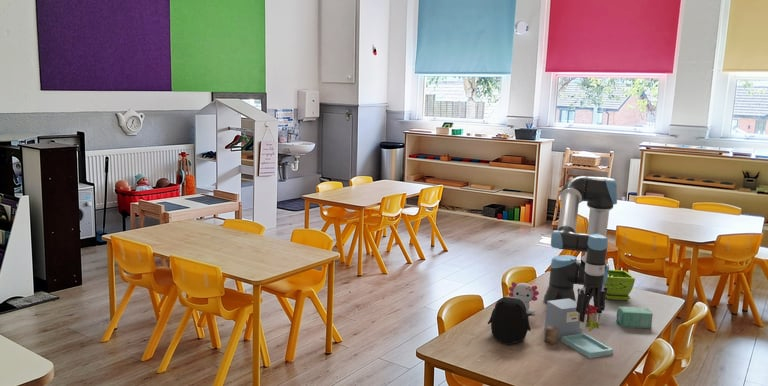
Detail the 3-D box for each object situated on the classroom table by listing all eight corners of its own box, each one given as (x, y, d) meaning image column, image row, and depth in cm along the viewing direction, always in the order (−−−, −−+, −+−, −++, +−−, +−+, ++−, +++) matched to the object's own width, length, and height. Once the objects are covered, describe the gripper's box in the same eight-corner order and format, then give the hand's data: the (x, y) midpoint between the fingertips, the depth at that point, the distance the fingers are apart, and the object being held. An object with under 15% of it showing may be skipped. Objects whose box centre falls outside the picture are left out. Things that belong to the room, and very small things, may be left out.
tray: (561, 340, 260) (561, 336, 260) (583, 337, 265) (584, 333, 264) (589, 358, 245) (589, 353, 244) (612, 354, 250) (613, 349, 249)
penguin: (531, 333, 266) (535, 295, 263) (527, 350, 250) (530, 309, 247) (490, 326, 272) (493, 289, 269) (482, 342, 255) (485, 302, 252)
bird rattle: (576, 333, 253) (595, 331, 246) (569, 306, 255) (588, 304, 248) (585, 330, 257) (604, 328, 250) (578, 303, 259) (597, 301, 252)
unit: (543, 329, 272) (546, 300, 270) (565, 325, 277) (568, 298, 274) (559, 338, 262) (562, 309, 260) (582, 335, 267) (585, 306, 265)
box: (615, 320, 286) (617, 305, 284) (645, 322, 285) (647, 307, 284) (620, 327, 278) (622, 311, 277) (651, 329, 278) (653, 313, 276)
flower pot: (633, 302, 311) (636, 278, 309) (605, 301, 311) (607, 277, 309) (622, 293, 325) (625, 269, 322) (596, 291, 325) (598, 268, 322)
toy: (505, 314, 287) (508, 283, 285) (508, 308, 295) (511, 278, 292) (535, 319, 282) (538, 288, 280) (538, 314, 290) (541, 283, 287)
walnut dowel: (541, 340, 260) (543, 326, 259) (551, 339, 262) (552, 325, 261) (549, 345, 255) (550, 331, 254) (559, 343, 257) (560, 330, 256)
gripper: (582, 278, 242) (576, 334, 246) (618, 274, 249) (612, 329, 253) (569, 272, 249) (564, 327, 253) (605, 268, 256) (599, 322, 260)
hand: (588, 328), depth 253 cm, fingers closed on bird rattle, 5 cm apart
